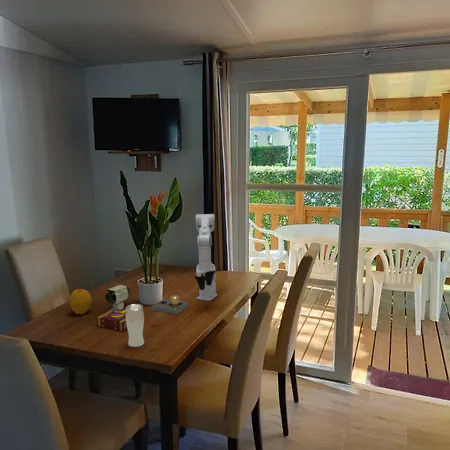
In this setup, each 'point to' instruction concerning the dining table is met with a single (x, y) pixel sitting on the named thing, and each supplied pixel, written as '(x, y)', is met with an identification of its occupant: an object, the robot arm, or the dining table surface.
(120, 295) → the white security camera
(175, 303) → the brass fitting
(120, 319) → the decorative book
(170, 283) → the dining table surface
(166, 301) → the grey plate with cutouts
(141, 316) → the beer glass
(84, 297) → the apple
